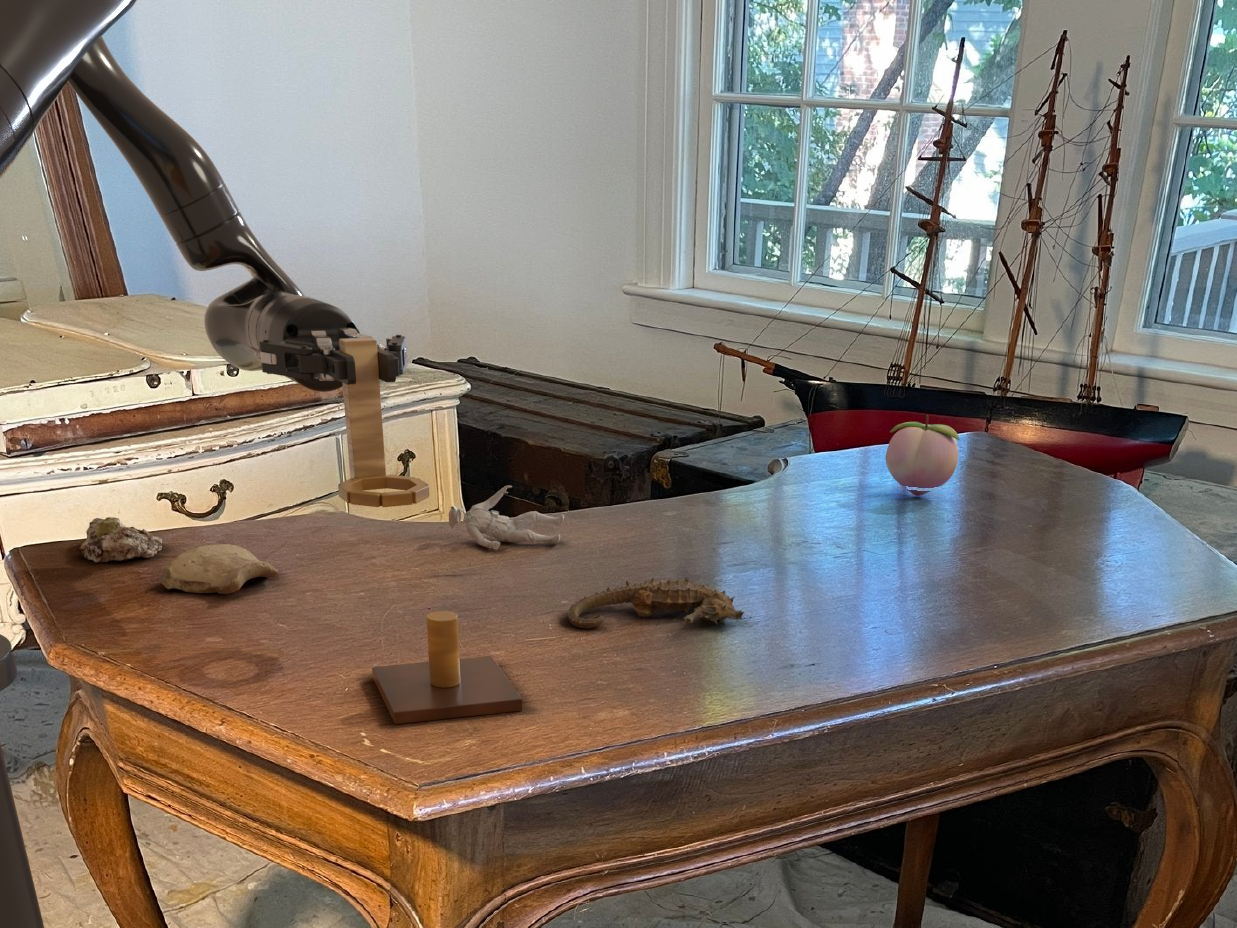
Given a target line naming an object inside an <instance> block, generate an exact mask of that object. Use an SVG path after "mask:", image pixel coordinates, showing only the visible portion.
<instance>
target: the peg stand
mask: <svg viewBox="0 0 1237 928" xmlns="http://www.w3.org/2000/svg"><path fill="white" fill-rule="evenodd" d="M458 619H459V618H458V614H457V613H455V612H452V611H447V610H446V611H445V610H439V611H432V612H429V613H428V614H426V618H425V621H426V635H427V654H428V655H427V656H428V661H423V662H413V663H403V664H402V663H401V664H390V665H380V666H372V667H371V671H372V673H371V674H372V679H373V681H374V683H375V686H376V688H377V690H378V691H379V694H380V696H381V698H382V700H383V702H384V704H385V707H386V709H387V711H388V713H389V715H390V717H391V719H392V721H393V723H394V725H401V724H402V725H403V724H410V723H419V722H420V723H421V722H429V721H439V720H446V719H458V718H467V717H475V716H483V715H484V716H485V715H494V714H503V713H512V712H522V711H523V698H522V696H521V695H520V694H519V692H518V691H517V690H516V689H515V687H514V685H513V684H512V683H511V681H510V680H509V679H508V677H507V676H506V675H505V672H504V671H503V670H502V668H501V667H500V666H499V664H498V663H497V662H496V660H495V659H494V657H493V656H492V655H488V656H476V657H465V658H460V639H459V620H458Z"/></svg>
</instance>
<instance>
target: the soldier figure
mask: <svg viewBox="0 0 1237 928" xmlns="http://www.w3.org/2000/svg"><path fill="white" fill-rule="evenodd" d="M510 488H513V486H512V485H505V486H504V487H502V488H501V489H500V490H499V489H498V491H497V492H496V493H494V494H493V495H492V496H490V497H489V498H488V499H486V500H485V501H483V502H480V503H477V504H474V505H472V506H471V508H470V509H469V510H468V511H466V512H465V509H464V508H459V507H458V506H454V505H452V506H451V507H450V509H449V511H448V523H449V526H450V527H451V530H454V528H455V526H456V525H457V524H461V521H463V522H464V523H465V525H466V526H465V527H466V531H467V532H468V534H469V535H470V536H471V537H472V538H473V539H474V541H475V542H476V543H477V544H478V545H479V546H482V547H484V548H487V549H492V550H493V549H494V550H496V551H498V549H499V548H500V546H501V542H500V541H502V542H505V543H507V542H508V543H521V542H529V543H533V544H536V543H547V542H549V543H552V544H555V545H557V544H559V542H560V540H561V534H556V535H543V534H540V533H536V532H535V531H533V530H531V529H527V528H526V529H524V528H525V527H527V526H531V525H532V524H535V523H536V524H554V525H556V527H557V526H558V527H561V526H562V524H563V523H564V519H565V514H564V513H562V514H561V515H559V516H557V517H554V516H550V515H545V514H543V513H540V512H538V511H536V510H534V511H528V512H524V513H521V514H520V515H517V516H515V517H513V518H512V519H510V517H509V516H507V515H500V511H497V510H490V509H492V508H493V507H495V506H496V505H497V504H498V502H499V501H500V500H501V498H502V497H503V496H504V494H509V492H508V491H507V489H510ZM462 518H463V519H462ZM483 534H484V535H487V536H488V537H490V538H495V539H497V540H500V541H497V540H493V541H490V540H489V539H487V538H485V537H484V535H483Z"/></svg>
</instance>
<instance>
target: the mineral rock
mask: <svg viewBox="0 0 1237 928" xmlns="http://www.w3.org/2000/svg"><path fill="white" fill-rule="evenodd" d="M85 533H86V539H85V541H83V542H82V543H81V545H80V546H79V548H78V551H79V552H81V555H83V556H82V557H83V558H85V559H87V560H88V561H93V562H94V563H106V562H109V561H116V562H121V561H127V560H130V559H135V558H140V557H142V558H144V559H145V558H146V559H148V558H152V557H155V555H157V554H158V552H160V551H161V550H162V549H163V546H162V545H163V539H162V538H160V537H158V536H155V535H153V534H152V533H151V532H150V531H148V530H146V529H144V528H142V529H138V528H136V527H135V526H126V525H125V524H123V522H121V520H120V518H119V517H113V516H112V517H111V516H108V517H105V518H99V517H95V518H93V519H92V521H89V524H88V528H87V529H86V531H85Z"/></svg>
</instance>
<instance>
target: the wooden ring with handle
mask: <svg viewBox="0 0 1237 928" xmlns="http://www.w3.org/2000/svg"><path fill="white" fill-rule="evenodd" d="M372 338H373V337H372ZM372 338H347V339H339V347H340V351H342V352H344V353H347V354H349V355H352V356H353V357H354V360H355V370H356V384H350V385H346V384H344V383H342V384H343V387H342V393H343V406H344V407H343V408H344V420H345V431H346V432H345V433H346V442H347V455H348V456H347V457H348V465H349V466H348V467H349V477H350V478H349V479H346V480H344V481H342V482H340V483H338V485H337V491H338V497H339V498H340V499H342V500H343V501H344V502H345V503H347V504H350V505H352V506H353V505H354V506H363V507H370V508H380V507H382V508H391V507H400V506H402V507H403V506H412V505H413V504H414V505H417V504H419V503H421V502H422V501H424V500H426V499H428V498H430V485H429V484H428V483H427V482H425V481H424V480H422V479H421V478H419V477H415V476H406V475H397V474H388V475H387V469H386V455H385V441H384V428H383V427H384V425H383V424H384V423H383V411H382V398H381V397H382V396H381V380H380V379H379V367H378V352H377V344H378V341H377V339H375V338H373V339H372ZM385 489H390V490H397V491H387V492H386V491H385V492H379V491H378V492H377V491H373V490H385Z"/></svg>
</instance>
